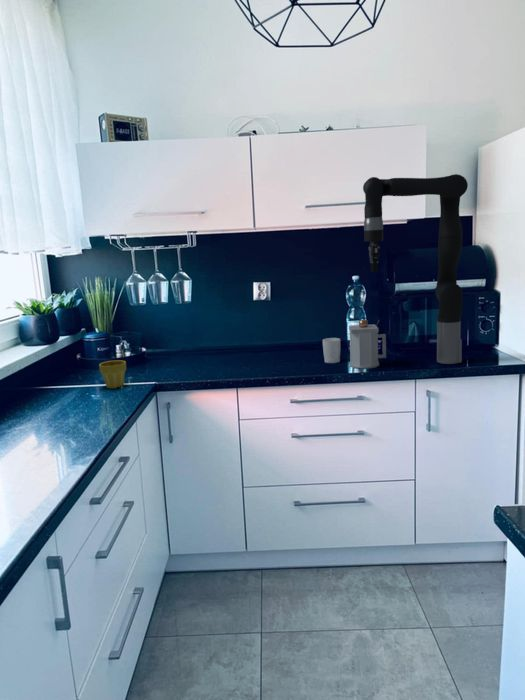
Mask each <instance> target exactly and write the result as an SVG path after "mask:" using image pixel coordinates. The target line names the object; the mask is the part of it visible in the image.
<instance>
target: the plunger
mask: <svg viewBox="0 0 525 700" xmlns="http://www.w3.org/2000/svg"><path fill="white" fill-rule="evenodd" d="M358 325H359V327H362V328H364V327H367V326H368V325H369V324H368V320H367V319H359V320H358Z"/></svg>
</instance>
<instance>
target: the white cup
mask: <svg viewBox="0 0 525 700" xmlns="http://www.w3.org/2000/svg"><path fill="white" fill-rule="evenodd" d="M322 350H323V358H324V363H325V364H336V363H340V361H341V358H340V357H341V338H338V337H329V338H328V337H326V338H323V339H322Z"/></svg>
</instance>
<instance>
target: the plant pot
mask: <svg viewBox="0 0 525 700" xmlns="http://www.w3.org/2000/svg"><path fill="white" fill-rule="evenodd" d="M98 366H99V367H98V369H99V373H100V374H102V378H103V380H104V383H105V386H106V388H107V389H118V388H117V387H119V388H121V387H120V386H122V385H123V386H124V383H125V374H126V371H127V362H126V360H120V359H119V360H118V359H116V360H108V361H104V362H100V363H99V365H98ZM123 386H122V387H123Z"/></svg>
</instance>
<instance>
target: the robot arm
mask: <svg viewBox="0 0 525 700" xmlns="http://www.w3.org/2000/svg"><path fill="white" fill-rule="evenodd" d="M468 186H469V185H468V181H467V179H466V178H465V177H464V176H463V175H461V174H456V173H454V174H451V175H450V174H449V175H447V176H441V177H427V178H426V177H421V178H420V177H391V178H379V177H377V176H376V177H375V176H372V177H369V178H368V179H367V180H366V181H365V182H364V183H363V188H362V190H363V192H364V193H363V194H364V197H365V198H364V200H365V204H364V207H363V209H364V222H363V233H364V237H363V238H364V242H366V243H367V242H370V243H369V246H368V257H369V262H370V272H371V273H373V274H374V273H379V267H378V265H379V264H378V263H379V261H380V249H381V248H380V245H379V244H378V243H379V242H383V241H384V221H383V197H389V196H390V197H391V196H392V197H414V196H415V197H416V196H423V195H424V196H426V195H433V196H434V195H436V196H439V204H440V205H439V206H440V215H439V225H438V226H439V228H438V241H437V243H438V244H437V247H438V249H437V251H438V253H437V257H438V259H437V263H438V265H437V266H438V271H437V280H436V286H435V297H436V299H437V301H438V302H439V303H438V313H437V317H436V362H437V363H439V364H442V365H445V364H446V365H453V364H460V363H461V364H462V363H463V362H462V358H463V357H462V356H463V354H462V352H463V349H462V348H463V340H462V339H461V326H462V325H461V323H462V322H461V317H462V315H463V303H464V302H463V301H464V300H463V297H464V295H463V290H462V288H461V286H460V285H459V284H458V282H457V272H458V271H457V269H458V264H459V261H460V258H461V255H462V251H463V239H464V238H463V236H464V235H463V233H464V232H463V226H462V221H461V216H460V203H461V197H462V196H463V195H464V194H465V193H466V192H467V190H468Z"/></svg>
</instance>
